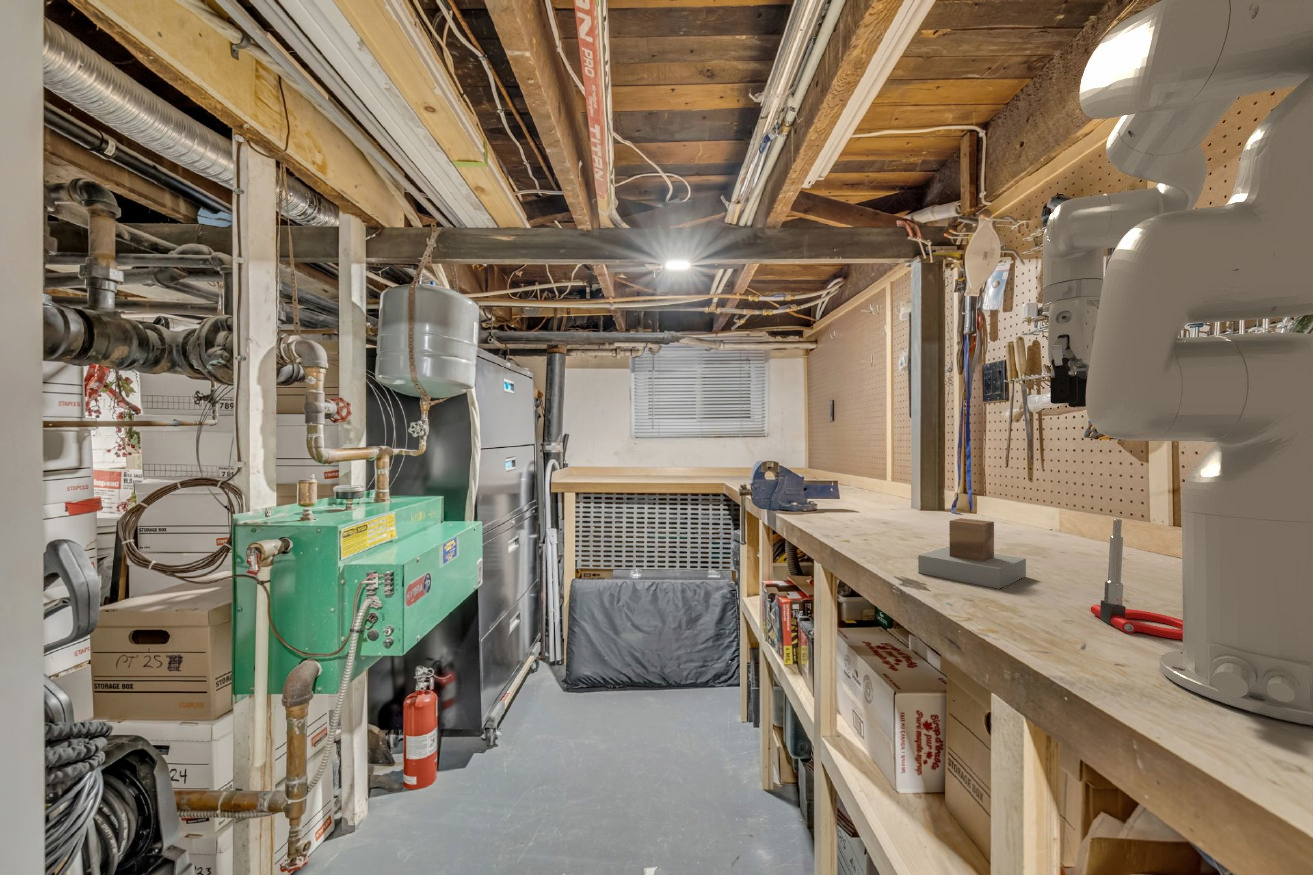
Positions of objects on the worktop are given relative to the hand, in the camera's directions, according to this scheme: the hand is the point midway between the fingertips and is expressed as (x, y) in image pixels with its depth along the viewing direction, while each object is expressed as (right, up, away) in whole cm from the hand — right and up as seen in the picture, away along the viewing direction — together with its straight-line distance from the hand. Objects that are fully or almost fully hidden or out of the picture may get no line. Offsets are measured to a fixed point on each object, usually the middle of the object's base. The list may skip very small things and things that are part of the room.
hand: (1072, 404), depth 81 cm
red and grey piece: (-7, -28, -20) cm, 35 cm away
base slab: (-13, -28, +5) cm, 32 cm away
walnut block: (-13, -25, +5) cm, 29 cm away
